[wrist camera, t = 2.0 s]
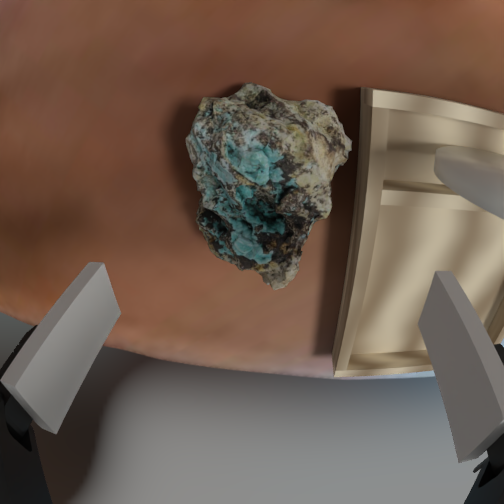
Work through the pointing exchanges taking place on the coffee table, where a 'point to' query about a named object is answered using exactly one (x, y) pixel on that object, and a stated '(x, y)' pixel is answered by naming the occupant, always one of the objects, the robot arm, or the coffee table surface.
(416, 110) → the wooden tray
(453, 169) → the standing plate
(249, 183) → the mineral specimen
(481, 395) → the robot arm
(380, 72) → the coffee table surface
